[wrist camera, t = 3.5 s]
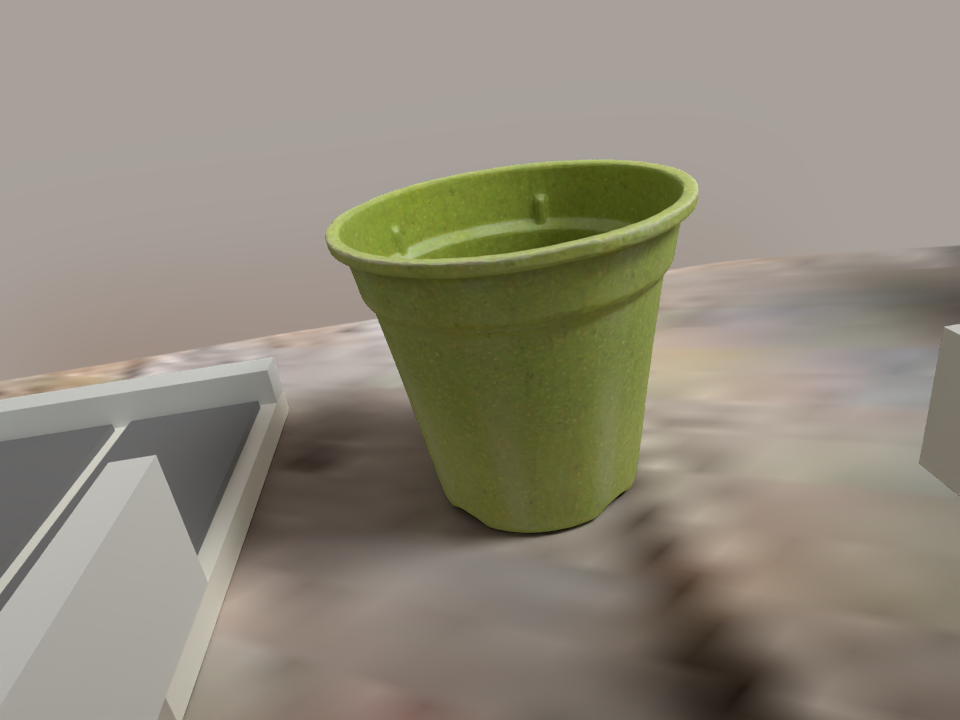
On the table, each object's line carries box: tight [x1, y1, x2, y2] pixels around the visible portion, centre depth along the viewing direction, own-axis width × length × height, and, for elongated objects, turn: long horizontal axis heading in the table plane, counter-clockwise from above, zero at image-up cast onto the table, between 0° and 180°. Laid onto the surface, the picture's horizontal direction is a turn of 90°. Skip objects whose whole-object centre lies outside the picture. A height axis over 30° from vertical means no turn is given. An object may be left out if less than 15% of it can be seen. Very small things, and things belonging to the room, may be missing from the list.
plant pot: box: [325, 160, 698, 533], centre depth 19 cm, size 9×9×9 cm
